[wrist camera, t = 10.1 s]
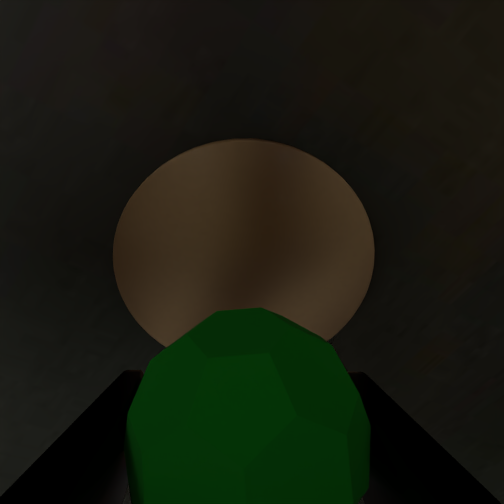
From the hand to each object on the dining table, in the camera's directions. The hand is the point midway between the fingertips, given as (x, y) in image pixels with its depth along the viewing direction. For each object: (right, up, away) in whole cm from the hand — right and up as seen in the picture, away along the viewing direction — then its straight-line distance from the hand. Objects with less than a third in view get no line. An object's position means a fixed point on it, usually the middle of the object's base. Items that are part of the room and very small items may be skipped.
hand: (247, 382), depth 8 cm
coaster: (0, +3, +5) cm, 5 cm away
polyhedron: (0, +1, +1) cm, 1 cm away
